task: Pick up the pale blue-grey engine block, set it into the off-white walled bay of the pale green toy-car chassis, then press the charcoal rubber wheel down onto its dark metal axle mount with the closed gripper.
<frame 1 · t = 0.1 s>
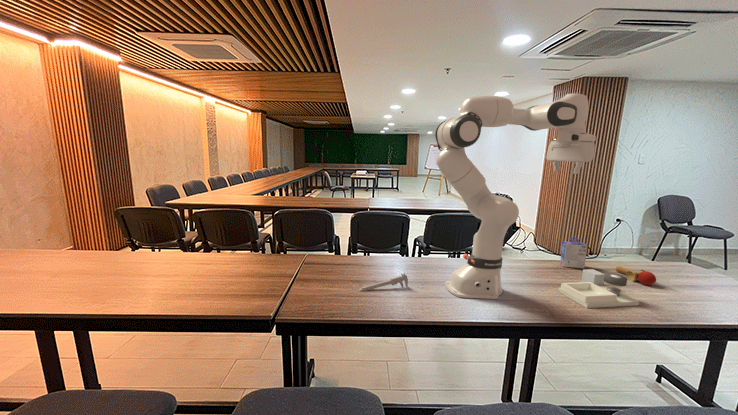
hand: (565, 172, 123), 48 cm above the table, tool pointing down, fingers open, 8 cm apart
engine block: (591, 285, 133), on the table
caliper: (383, 289, 124), on the table
wheel: (615, 279, 120), point 7 cm above the table, slide at 2.5 cm
ink cartridge box: (571, 266, 156), on the table
chassis: (596, 297, 120), on the table
kendama: (633, 279, 141), on the table
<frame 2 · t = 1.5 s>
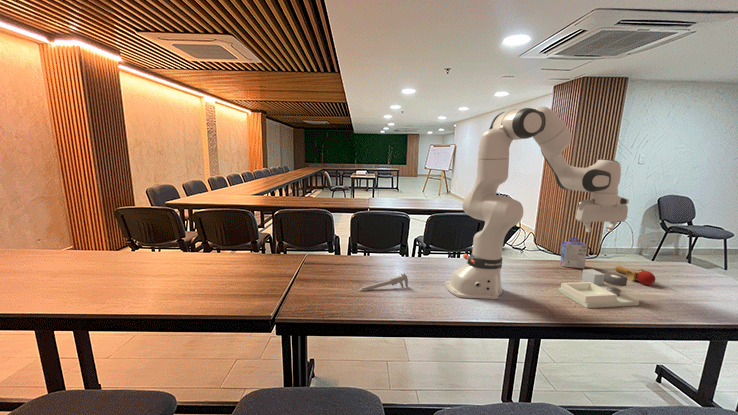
hand: (598, 231, 129), 24 cm above the table, tool pointing down, fingers open, 8 cm apart
nothing on the table moved.
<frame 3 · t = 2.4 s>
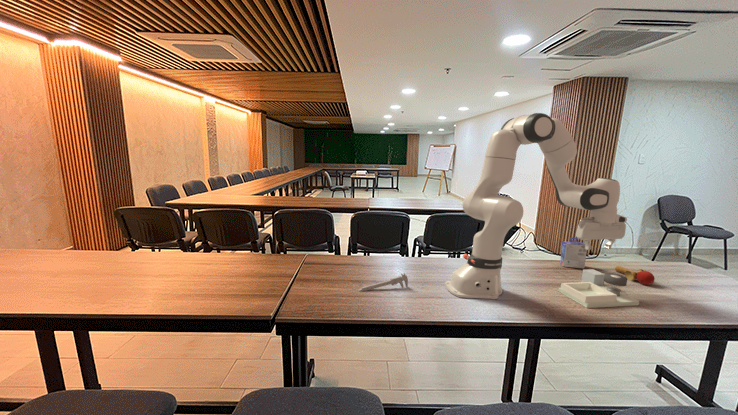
hand: (597, 249, 130), 16 cm above the table, tool pointing down, fingers open, 8 cm apart
nothing on the table moved.
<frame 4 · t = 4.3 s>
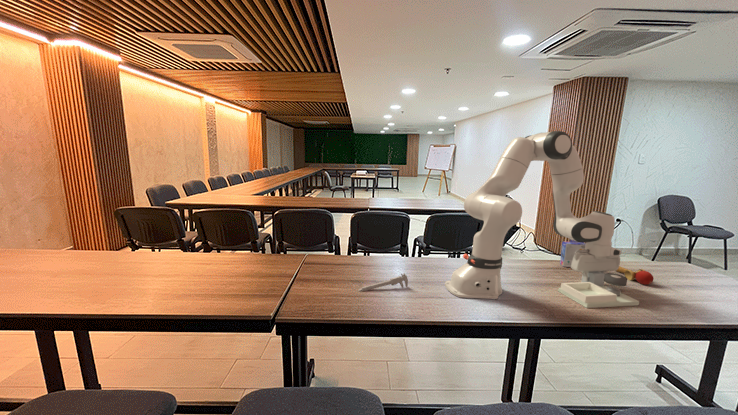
hand: (592, 280, 133), 2 cm above the table, tool pointing down, fingers closed on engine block, 5 cm apart
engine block: (592, 285, 133), on the table, touching gripper
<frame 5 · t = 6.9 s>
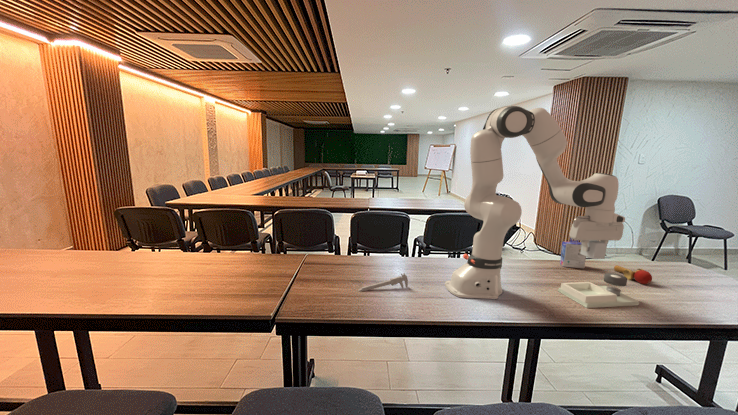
hand: (592, 251, 120), 18 cm above the table, tool pointing down, fingers closed on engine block, 5 cm apart
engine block: (592, 256, 120), point 16 cm above the table, touching gripper
when the fingers open (5 cm above the table, at t = 10.3 s): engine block drops 1 cm, resting on chassis.
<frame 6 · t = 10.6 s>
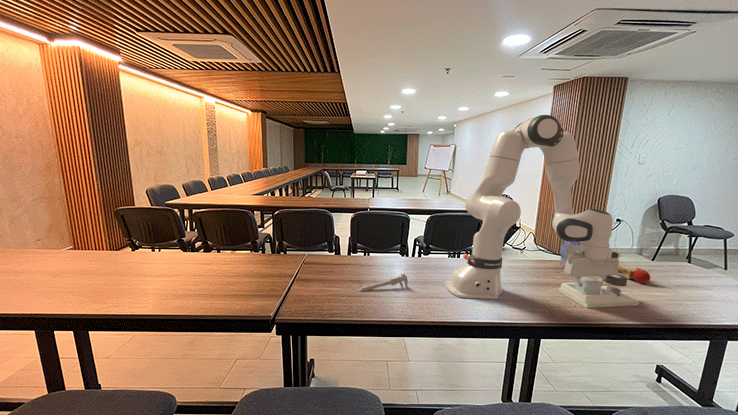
hand: (588, 286, 119), 5 cm above the table, tool pointing down, fingers open, 7 cm apart
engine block: (586, 294, 120), point 1 cm above the table, touching chassis
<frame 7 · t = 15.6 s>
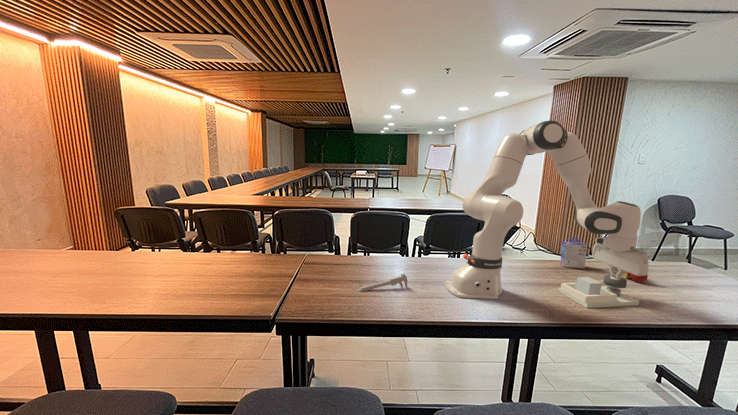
hand: (615, 277, 120), 8 cm above the table, tool pointing down, fingers closed, pressing on wheel
wheel: (614, 281, 120), point 7 cm above the table, slide at 1.7 cm, touching gripper
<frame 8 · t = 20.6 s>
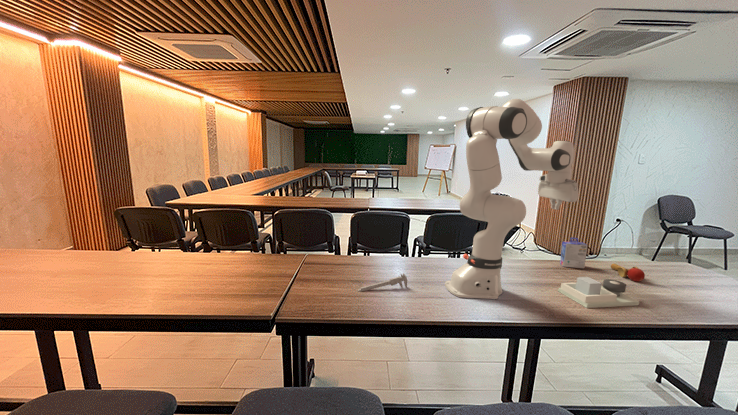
hand: (555, 209, 138), 31 cm above the table, tool pointing down, fingers closed
wheel: (614, 285, 121), point 5 cm above the table, slide at -0.1 cm, touching chassis
at the end: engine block 0.1 cm from the target spot on the chassis, point 1.5 cm above the chassis's base; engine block tilted 0°; wheel slide at -0.1 cm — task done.
